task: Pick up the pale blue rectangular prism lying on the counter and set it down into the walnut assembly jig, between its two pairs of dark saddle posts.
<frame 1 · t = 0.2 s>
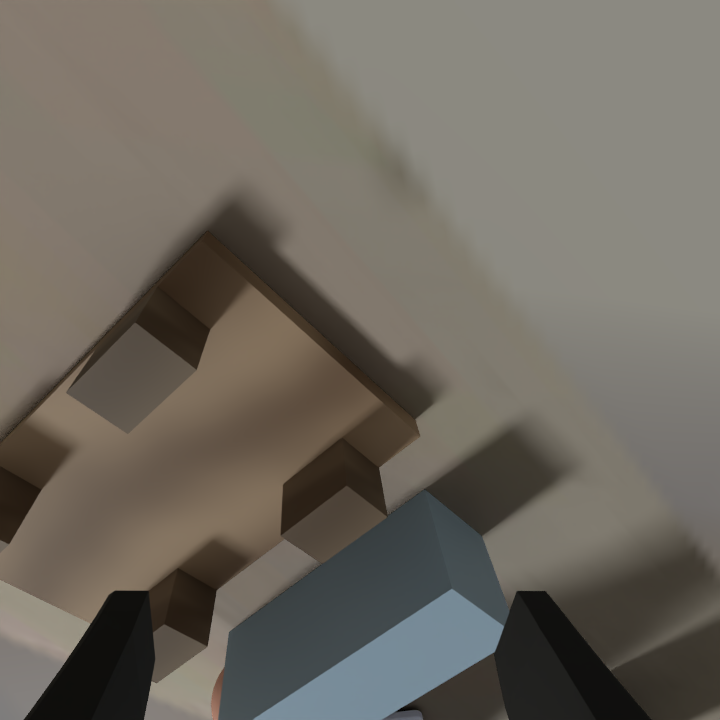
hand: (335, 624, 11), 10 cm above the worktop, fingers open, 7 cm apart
cradle jig: (170, 468, 21), on the worktop
pale blue rectangular prism: (351, 582, 25), on the worktop
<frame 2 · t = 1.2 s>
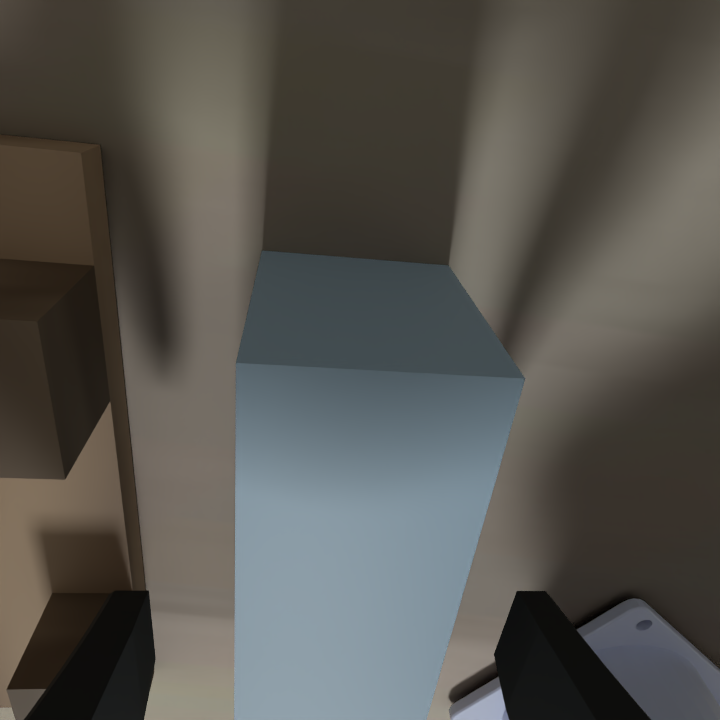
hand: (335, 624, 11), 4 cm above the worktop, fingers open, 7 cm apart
pale blue rectangular prism: (332, 473, 15), on the worktop
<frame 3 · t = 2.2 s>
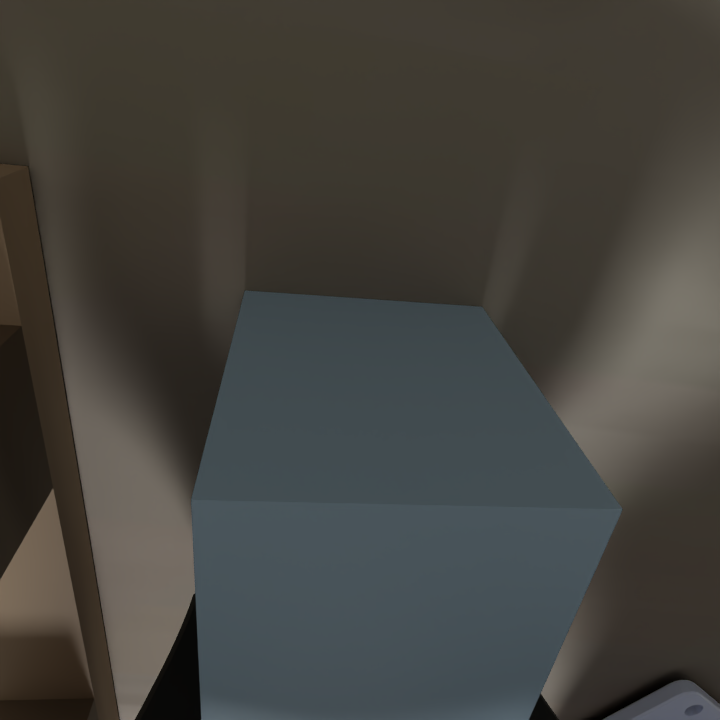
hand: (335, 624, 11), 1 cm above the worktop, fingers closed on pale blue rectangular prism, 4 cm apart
pale blue rectangular prism: (334, 547, 12), on the worktop, touching gripper
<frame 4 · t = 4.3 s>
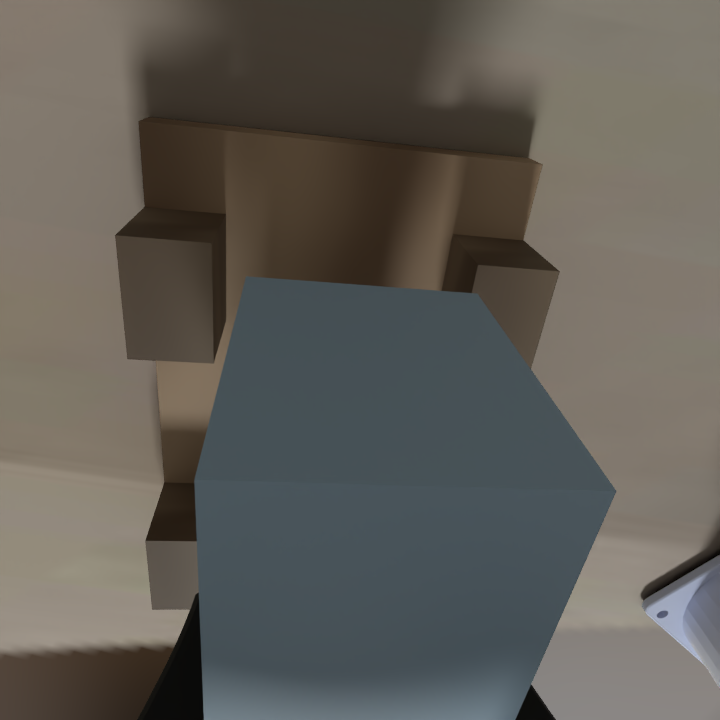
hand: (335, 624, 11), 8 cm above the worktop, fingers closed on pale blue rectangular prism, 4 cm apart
cradle jig: (323, 396, 18), on the worktop
pale blue rectangular prism: (333, 536, 12), point 7 cm above the worktop, touching gripper
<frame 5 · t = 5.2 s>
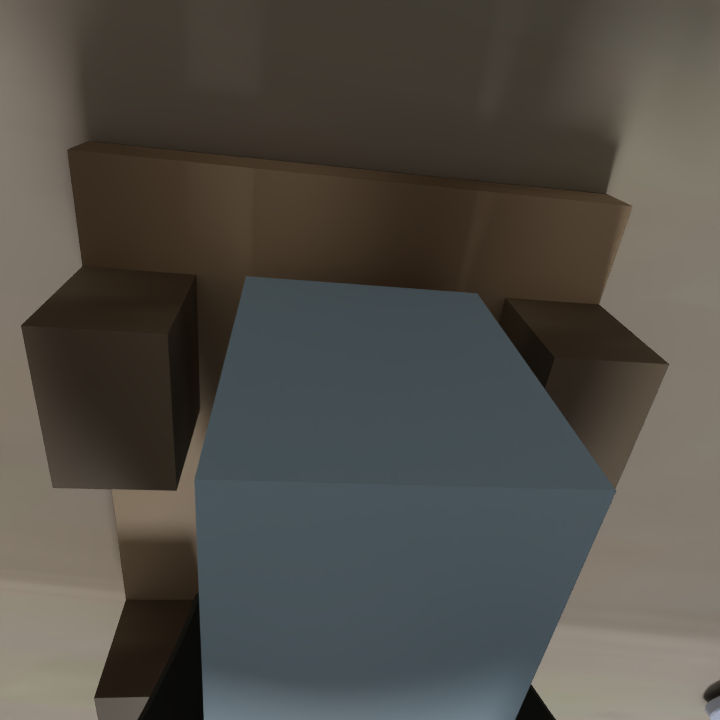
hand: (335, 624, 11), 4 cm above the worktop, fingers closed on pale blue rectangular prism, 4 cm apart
cradle jig: (328, 489, 14), on the worktop
pale blue rectangular prism: (333, 536, 12), point 2 cm above the worktop, touching gripper
when the fingers open (4 cm above the worktop, at t = 5.9 s): pale blue rectangular prism drops 1 cm, resting on cradle jig.
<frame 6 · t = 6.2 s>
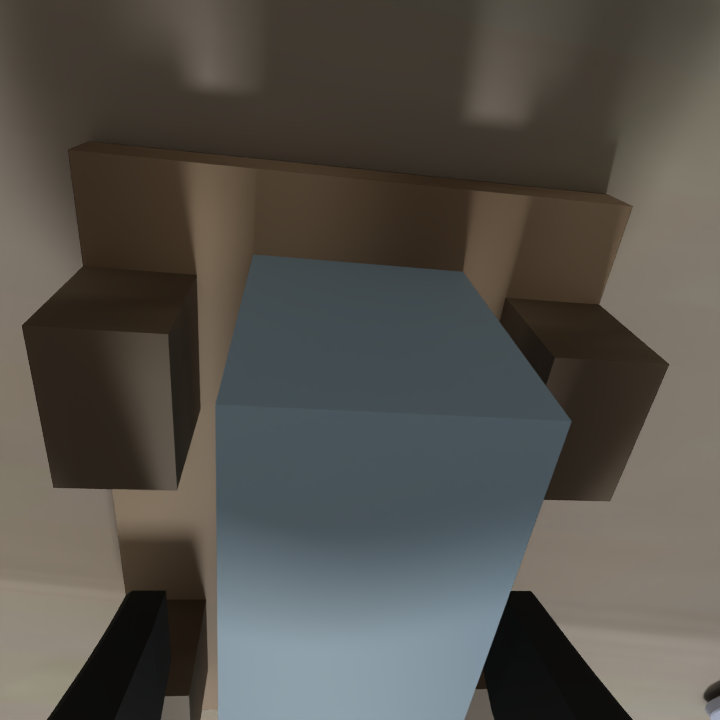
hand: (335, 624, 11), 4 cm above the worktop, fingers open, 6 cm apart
cradle jig: (328, 489, 14), on the worktop
pale blue rectangular prism: (331, 502, 13), point 1 cm above the worktop, touching cradle jig
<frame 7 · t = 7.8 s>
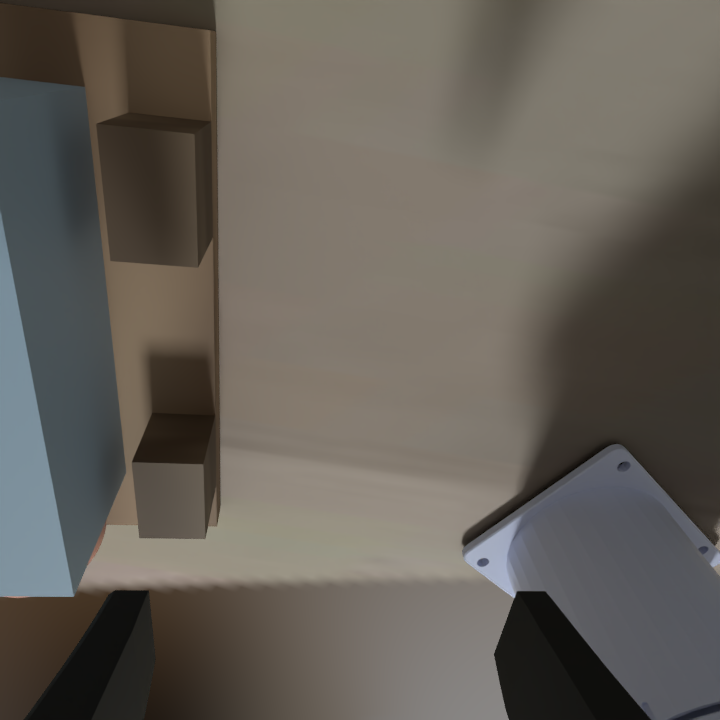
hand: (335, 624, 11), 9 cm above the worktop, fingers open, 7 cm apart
cradle jig: (52, 309, 17), on the worktop
pale blue rectangular prism: (36, 308, 16), point 1 cm above the worktop, touching cradle jig
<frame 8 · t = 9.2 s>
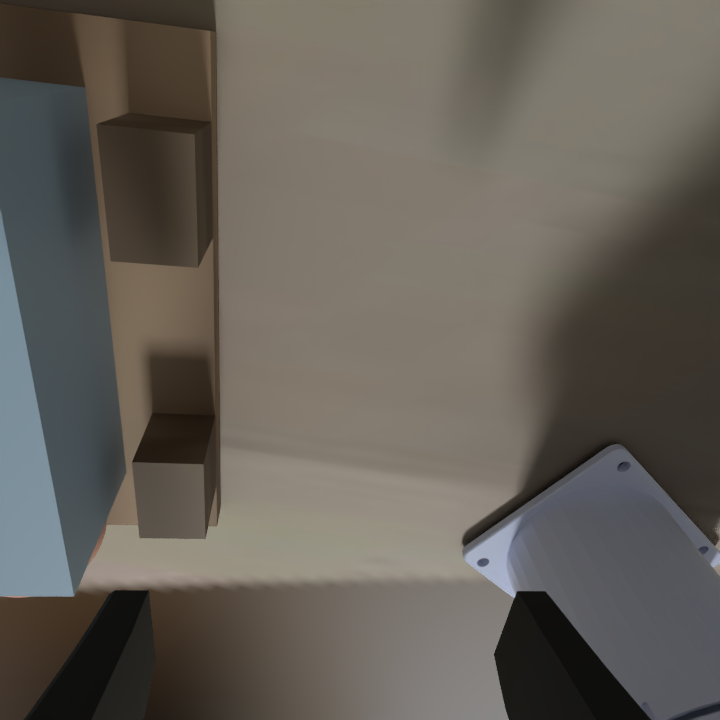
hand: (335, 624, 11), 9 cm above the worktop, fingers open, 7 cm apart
cradle jig: (52, 309, 17), on the worktop
pale blue rectangular prism: (36, 308, 16), point 1 cm above the worktop, touching cradle jig
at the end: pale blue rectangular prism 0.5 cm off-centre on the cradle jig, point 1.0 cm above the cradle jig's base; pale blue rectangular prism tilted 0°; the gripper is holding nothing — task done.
